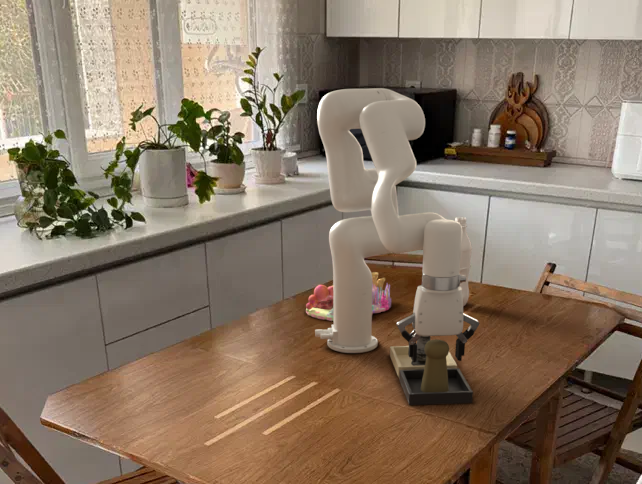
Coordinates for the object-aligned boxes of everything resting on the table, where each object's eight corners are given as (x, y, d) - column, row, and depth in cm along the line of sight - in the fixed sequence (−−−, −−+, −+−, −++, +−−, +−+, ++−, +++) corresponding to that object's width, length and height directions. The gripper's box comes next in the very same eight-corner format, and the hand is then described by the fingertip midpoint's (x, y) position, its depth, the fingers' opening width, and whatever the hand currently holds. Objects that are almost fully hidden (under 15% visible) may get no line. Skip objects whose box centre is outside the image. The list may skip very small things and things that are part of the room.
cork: (452, 386, 171) (455, 338, 166) (443, 396, 165) (446, 348, 161) (425, 381, 173) (428, 334, 169) (416, 391, 168) (418, 343, 163)
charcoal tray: (408, 405, 163) (409, 394, 162) (399, 380, 175) (399, 369, 174) (472, 403, 164) (473, 392, 163) (458, 378, 176) (458, 368, 175)
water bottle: (469, 308, 223) (475, 220, 213) (444, 308, 223) (449, 220, 213) (466, 300, 230) (471, 215, 220) (441, 300, 230) (446, 215, 220)
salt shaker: (434, 369, 180) (436, 319, 175) (408, 367, 181) (410, 317, 176) (436, 359, 185) (438, 311, 180) (411, 358, 186) (413, 309, 181)
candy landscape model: (315, 293, 237) (315, 264, 233) (393, 296, 234) (394, 266, 230) (301, 320, 214) (300, 287, 210) (387, 323, 211) (388, 290, 207)
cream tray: (398, 377, 177) (398, 367, 176) (389, 356, 189) (390, 346, 188) (456, 375, 177) (457, 365, 176) (444, 354, 190) (445, 344, 189)
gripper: (477, 275, 164) (471, 352, 171) (395, 277, 163) (393, 354, 169) (486, 285, 157) (480, 364, 164) (401, 287, 156) (398, 367, 163)
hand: (435, 359), depth 167 cm, fingers open, 9 cm apart
